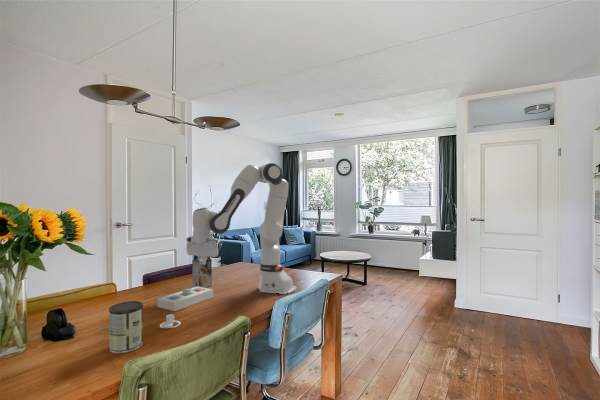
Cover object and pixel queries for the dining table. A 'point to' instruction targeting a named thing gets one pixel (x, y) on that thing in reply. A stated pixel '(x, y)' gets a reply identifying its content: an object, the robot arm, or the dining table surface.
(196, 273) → the coffee box
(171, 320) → the teacup and saucer
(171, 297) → the blue button
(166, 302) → the button panel
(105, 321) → the dining table surface
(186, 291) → the sage button
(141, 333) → the coffee can
